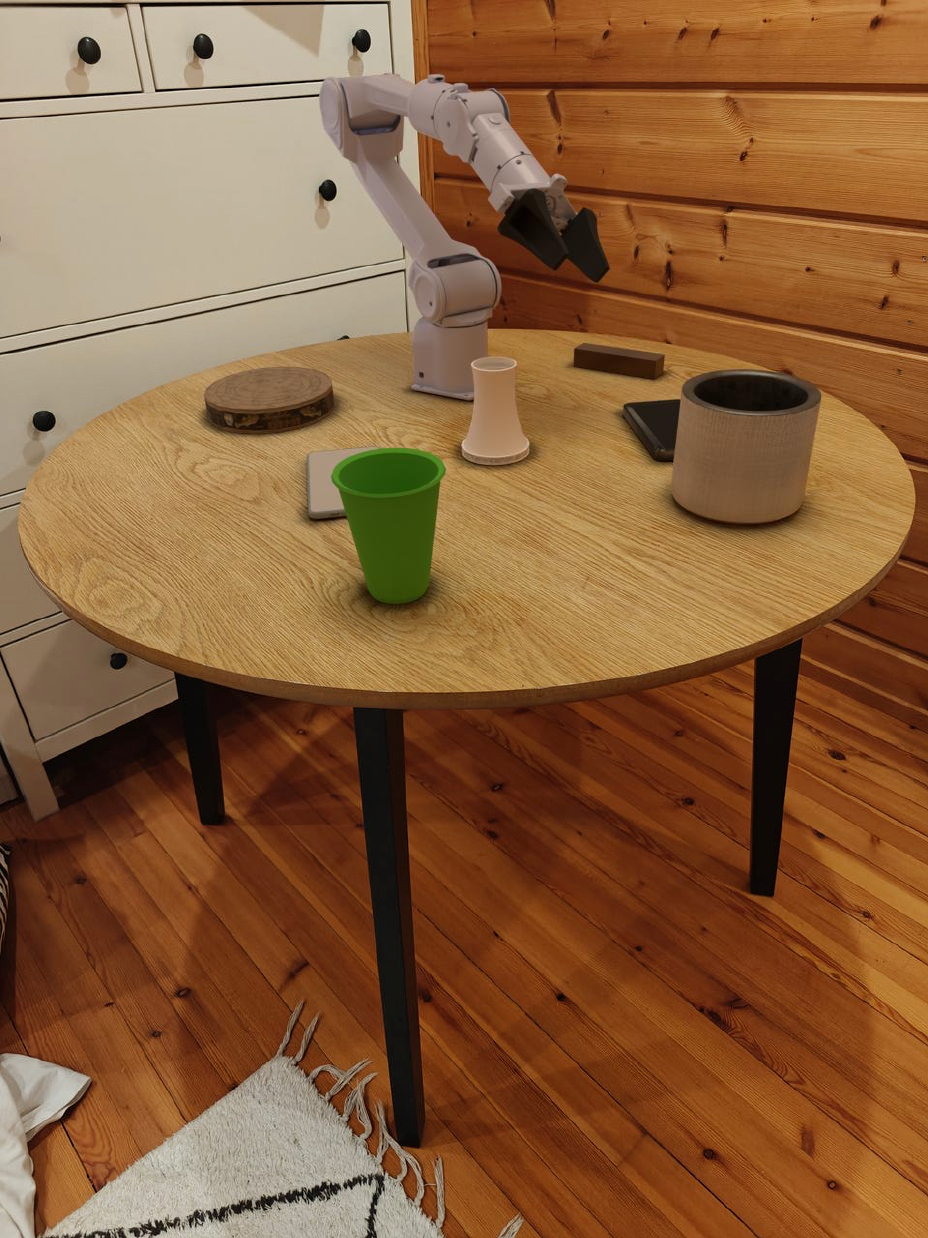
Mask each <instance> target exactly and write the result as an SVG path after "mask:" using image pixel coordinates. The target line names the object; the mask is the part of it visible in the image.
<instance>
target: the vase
mask: <svg viewBox="0 0 928 1238" xmlns="http://www.w3.org/2000/svg"><path fill="white" fill-rule="evenodd" d="M471 366H472V372H473V380H474V399H473V410H472V414H471V420H470V424H469V428H468V432H467V434H466V436H465V438H464V439H463V440H462V442H461V455H462V456H463V458H464V459H466V460H467V461H469V462H472V463H474V464H479V465H484V466H503V465H509V464H514V463H518V462H520V461H522V460H524V459H525V458H526V457H528V455H530V441H529V439H528V438H527V437H526V436H525V434H524V431H523V429H522V426H521V423H520V419H519V415H518V409H517V403H516V375H517V366H518V361H516V360H515V359H513V358H510V357H505V356H488V357H485V358H480V359H477V360H475V361H473V362H472V363H471Z"/></svg>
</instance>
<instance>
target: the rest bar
mask: <svg viewBox="0 0 928 1238" xmlns="http://www.w3.org/2000/svg"><path fill="white" fill-rule="evenodd" d="M665 357H666V354H664V353H657V352H650V351H643V350H637V349H631V348H624V347H623V348H622V347H617V346H610V345H601V344H594V343H588V342H583V343H581V344H579V345H578V346H575V347H574V348H573V367H576V368H583V369H589V370H594V371H601V372H605V373H606V372H607V373H612V374H619V375H626V376H632V377H637V378H645V379H649V380H656V379H657V378H658V377H660V376H661V375H663V374H664V371H665V360H666V359H665Z"/></svg>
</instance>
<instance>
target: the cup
mask: <svg viewBox="0 0 928 1238" xmlns="http://www.w3.org/2000/svg"><path fill="white" fill-rule="evenodd" d="M380 448H381V447H380ZM446 471H447V469H446V466H445V464H444V462H443V460H442V459H440V458H439V457H438V456H437V455H435V454H433V453H431V452H429V451H426V450H421V449H419V448H417V449H416V448H409V447H383V448H381V449H375V450H369V451H365V452H361V453H357V454H355V455H352V456H350V457H348V458H346V459H344V460H343V461H341V462H339V463H338V464H337V465H336V467H335V468H334V470H333V472H332V475H331V479H332V483H333V484H334V485H335V486H336V487H337V488H338V489H339V493H340V496H341V499H342V503H343V506H344V510H345V513H346V516H345V517H346V520H347V522H348V526H349V529H350V533H351V536H352V540H353V543H354V547H355V550H356V553H357V556H358V560H359V563H360V566H361V571H362V574H363V576H364V581H365V584H366V587H367V591H369V593H370V594H371V596H372V597H373V598H374V599H375V600H377V601H379V602H382V603H385V604H392V605H398V604H399V605H400V604H406V603H411V602H413V601H416V600H418V599H420V598H421V597H423V596H424V595H425V594H426V592H427V590H428V587H429V586H430V579H431V571H432V570H431V569H432V561H433V553H434V545H435V544H434V542H435V534H436V526H437V525H436V524H437V516H438V507H439V497H440V488H441V482H442V479H443V478H444V477H445V475H446Z"/></svg>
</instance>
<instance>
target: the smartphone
mask: <svg viewBox="0 0 928 1238" xmlns="http://www.w3.org/2000/svg"><path fill="white" fill-rule="evenodd" d="M375 449H381V447H380V446H377V445H371V446H370V445H369V446H359V447H349V448H338V449H327V450H317V451H311V452H309V453H307V455H306V482H307V484H306V485H307V486H306V487H307V513H308V517H310V518H312V519H315V520H316V519H317V520H318V519H328V518H337V517H347V516H346V513H345V510H344V506H343V503H342V499H341V496H340V493H339V489H338V488H337V487H336V486H335V485H334V484H333V483H332V479H331V475H332V472H333V470H334V468H335V467H336V465H337V464H338V463H339V462H341V461H343V460H344V459H346V458H348V457H350V456H352V455H355V454H357V453H361V452H365V451H369V450H375Z"/></svg>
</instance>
